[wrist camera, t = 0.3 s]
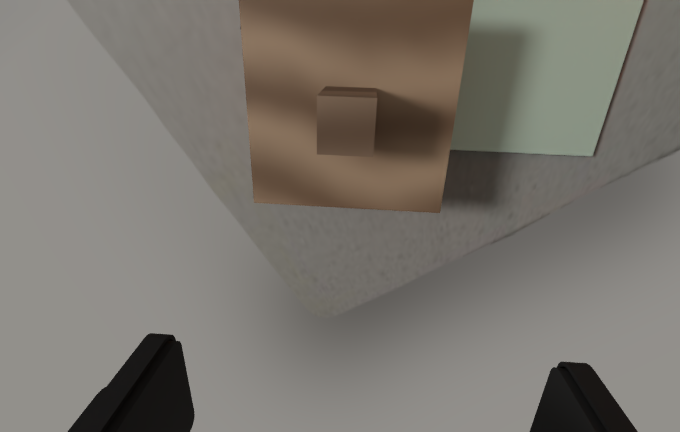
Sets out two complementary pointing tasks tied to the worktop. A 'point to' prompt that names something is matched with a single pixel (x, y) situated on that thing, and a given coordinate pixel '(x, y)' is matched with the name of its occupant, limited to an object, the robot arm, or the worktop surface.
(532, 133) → the mat
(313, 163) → the lid
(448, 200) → the worktop surface
